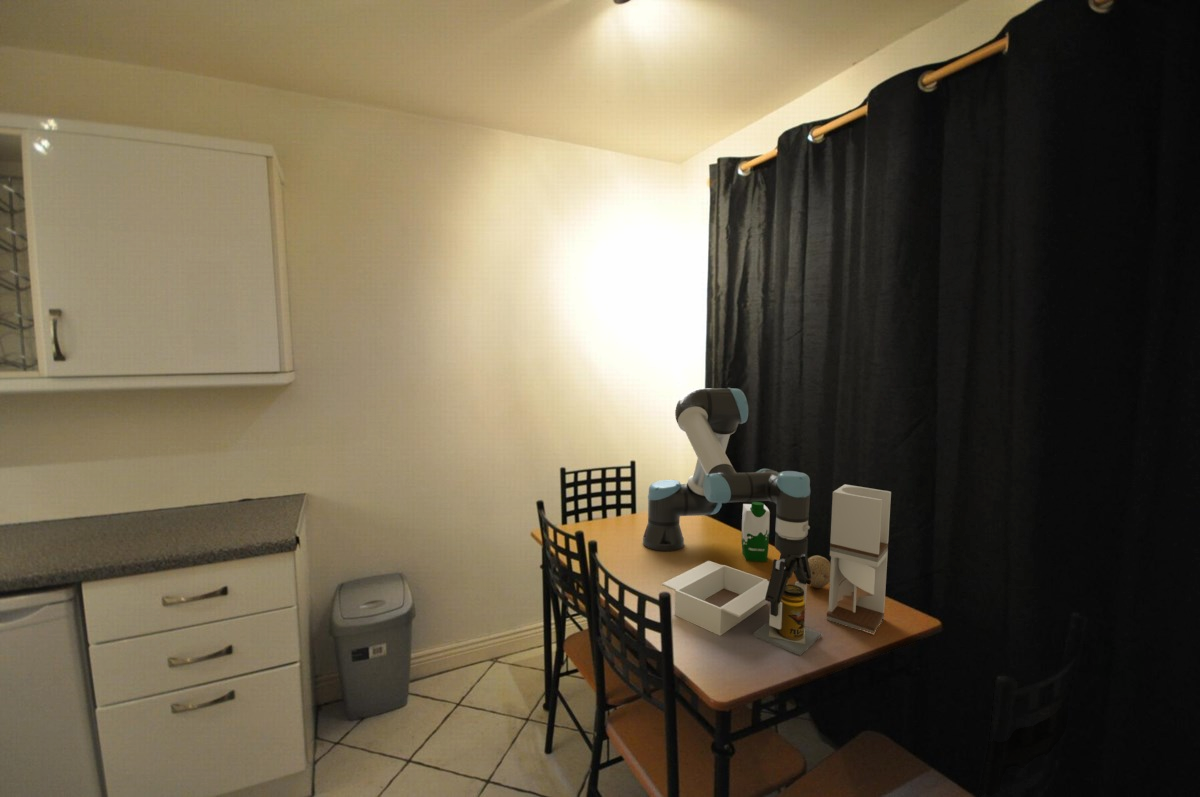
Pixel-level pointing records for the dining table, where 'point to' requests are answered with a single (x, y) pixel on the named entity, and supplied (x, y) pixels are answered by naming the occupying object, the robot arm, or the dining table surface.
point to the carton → (708, 582)
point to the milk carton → (755, 531)
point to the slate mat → (788, 645)
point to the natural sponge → (819, 571)
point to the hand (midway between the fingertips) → (788, 617)
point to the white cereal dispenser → (858, 556)
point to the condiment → (791, 616)
